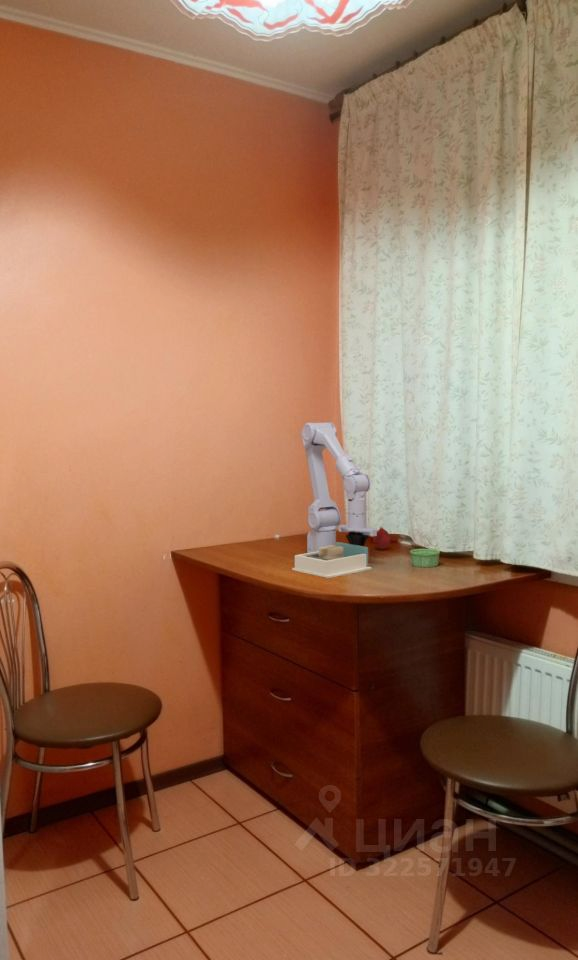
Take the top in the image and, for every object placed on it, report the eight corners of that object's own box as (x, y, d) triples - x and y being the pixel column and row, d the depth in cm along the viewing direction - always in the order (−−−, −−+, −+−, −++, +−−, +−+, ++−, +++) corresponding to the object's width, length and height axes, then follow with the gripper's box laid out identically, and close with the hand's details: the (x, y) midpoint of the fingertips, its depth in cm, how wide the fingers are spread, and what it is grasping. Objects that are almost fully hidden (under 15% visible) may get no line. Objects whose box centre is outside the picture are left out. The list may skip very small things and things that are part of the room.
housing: (334, 561, 237) (334, 547, 237) (371, 569, 225) (371, 554, 225) (292, 570, 226) (291, 554, 225) (328, 578, 214) (328, 562, 213)
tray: (338, 559, 236) (337, 542, 236) (368, 565, 226) (368, 547, 226) (303, 565, 227) (303, 547, 226) (333, 572, 217) (333, 553, 216)
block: (318, 564, 225) (318, 547, 224) (333, 561, 229) (332, 545, 228) (329, 566, 221) (328, 549, 221) (343, 563, 225) (343, 547, 225)
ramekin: (445, 565, 230) (445, 550, 230) (427, 569, 224) (427, 555, 224) (422, 561, 237) (422, 547, 236) (404, 565, 230) (404, 551, 230)
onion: (392, 548, 259) (392, 525, 258) (387, 551, 253) (387, 528, 253) (376, 547, 261) (376, 525, 260) (371, 550, 256) (371, 527, 255)
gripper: (331, 512, 234) (331, 555, 235) (365, 516, 223) (365, 561, 224) (347, 510, 239) (347, 552, 240) (381, 514, 228) (381, 558, 229)
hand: (357, 556), depth 232 cm, fingers closed, pressing on tray
